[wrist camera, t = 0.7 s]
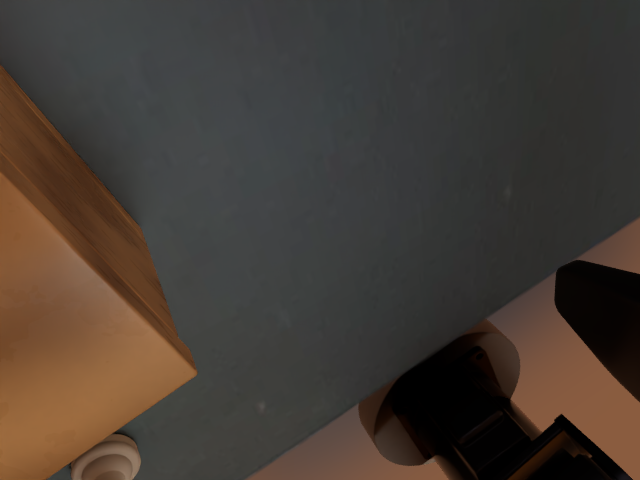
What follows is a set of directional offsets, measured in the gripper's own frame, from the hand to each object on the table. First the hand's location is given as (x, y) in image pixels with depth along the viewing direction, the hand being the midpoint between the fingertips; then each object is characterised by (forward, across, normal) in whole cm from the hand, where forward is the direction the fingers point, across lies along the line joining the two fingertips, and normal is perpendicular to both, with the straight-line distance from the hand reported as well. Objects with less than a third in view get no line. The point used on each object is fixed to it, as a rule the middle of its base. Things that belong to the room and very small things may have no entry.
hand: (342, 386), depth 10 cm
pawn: (+12, +7, +11) cm, 18 cm away
